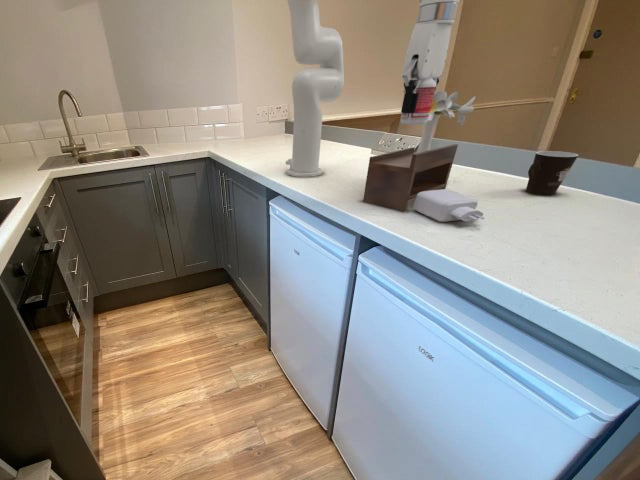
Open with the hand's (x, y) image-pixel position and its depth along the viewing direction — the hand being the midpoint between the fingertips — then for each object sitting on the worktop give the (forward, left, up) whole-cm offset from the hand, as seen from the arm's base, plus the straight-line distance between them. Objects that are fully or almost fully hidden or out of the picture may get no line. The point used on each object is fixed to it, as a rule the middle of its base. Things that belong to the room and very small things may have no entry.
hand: (415, 111), depth 82 cm
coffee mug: (+22, +31, -21) cm, 44 cm away
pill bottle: (0, 0, -3) cm, 3 cm away
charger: (+17, -6, -21) cm, 28 cm away
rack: (+1, +1, -21) cm, 21 cm away
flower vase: (-6, +21, -21) cm, 30 cm away
